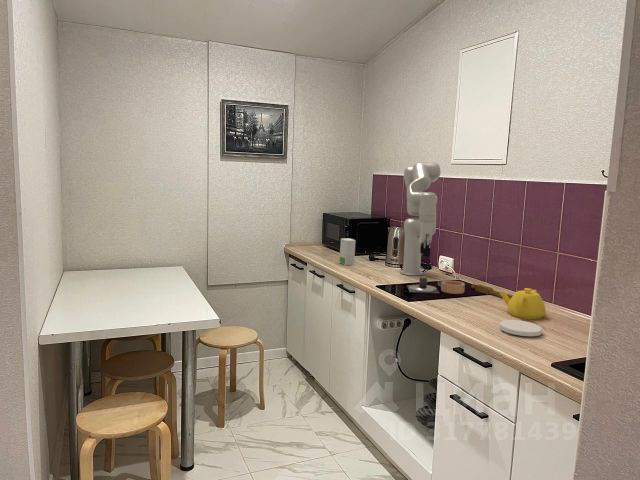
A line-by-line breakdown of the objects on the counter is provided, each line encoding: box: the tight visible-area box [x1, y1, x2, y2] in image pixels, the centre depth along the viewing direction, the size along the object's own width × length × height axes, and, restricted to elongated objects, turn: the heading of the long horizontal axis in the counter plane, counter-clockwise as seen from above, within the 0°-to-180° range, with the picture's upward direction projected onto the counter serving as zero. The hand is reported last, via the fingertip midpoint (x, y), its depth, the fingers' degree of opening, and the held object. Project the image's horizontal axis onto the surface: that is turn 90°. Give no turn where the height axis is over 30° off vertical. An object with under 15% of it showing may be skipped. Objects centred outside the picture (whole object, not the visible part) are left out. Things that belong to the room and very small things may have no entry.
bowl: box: [440, 280, 466, 295], centre depth 229 cm, size 10×10×4 cm
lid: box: [408, 277, 438, 293], centre depth 231 cm, size 13×13×5 cm
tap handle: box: [470, 283, 514, 299], centre depth 225 cm, size 3×3×30 cm
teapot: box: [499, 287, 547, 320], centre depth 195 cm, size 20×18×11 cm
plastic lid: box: [499, 319, 543, 337], centre depth 172 cm, size 14×14×2 cm
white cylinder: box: [338, 237, 357, 266], centre depth 294 cm, size 8×7×16 cm
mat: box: [406, 284, 440, 294], centre depth 232 cm, size 14×14×1 cm
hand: (424, 254), depth 229 cm, fingers open, 9 cm apart
